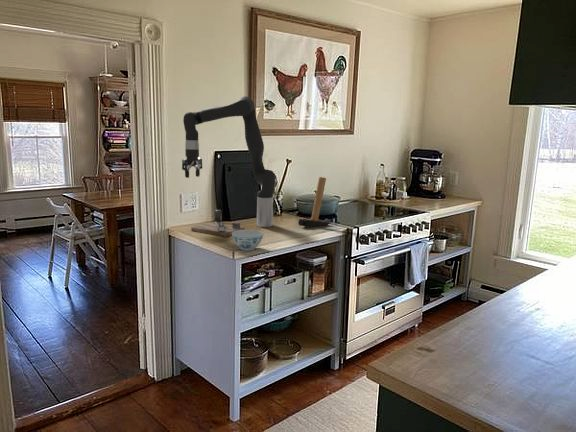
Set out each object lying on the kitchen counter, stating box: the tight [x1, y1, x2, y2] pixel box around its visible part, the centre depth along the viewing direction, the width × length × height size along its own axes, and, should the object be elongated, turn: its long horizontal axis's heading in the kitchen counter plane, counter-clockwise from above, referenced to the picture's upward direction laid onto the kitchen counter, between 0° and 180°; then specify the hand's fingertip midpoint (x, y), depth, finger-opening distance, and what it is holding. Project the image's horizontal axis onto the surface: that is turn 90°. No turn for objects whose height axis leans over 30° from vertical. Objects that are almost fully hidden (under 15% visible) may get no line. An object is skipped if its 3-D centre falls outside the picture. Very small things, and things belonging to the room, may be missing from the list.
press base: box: [190, 221, 246, 238], centre depth 252 cm, size 17×24×5 cm
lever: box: [213, 209, 225, 231], centre depth 250 cm, size 19×4×8 cm, turn 15°
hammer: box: [298, 176, 332, 229], centre depth 268 cm, size 20×5×30 cm, turn 122°
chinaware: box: [231, 229, 264, 252], centre depth 216 cm, size 15×15×8 cm
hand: (192, 177), depth 260 cm, fingers open, 8 cm apart
